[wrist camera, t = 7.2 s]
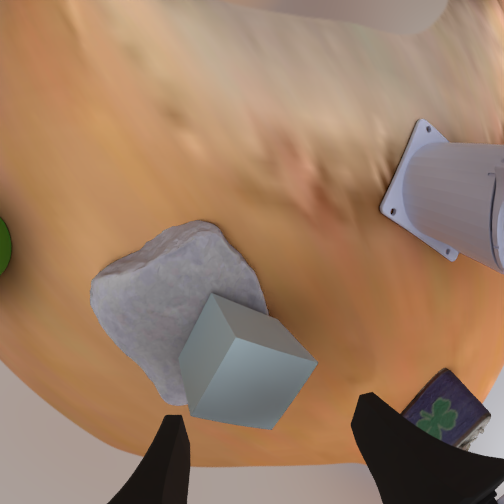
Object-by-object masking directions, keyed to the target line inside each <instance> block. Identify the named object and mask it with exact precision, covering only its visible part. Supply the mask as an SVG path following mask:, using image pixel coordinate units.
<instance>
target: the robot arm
mask: <svg viewBox="0 0 504 504" xmlns="http://www.w3.org/2000/svg"><path fill="white" fill-rule="evenodd" d="M426 127H427V128H428V132H427V130H426ZM392 208H393V213H392V214H391V213H390V211H391V209H392ZM380 211H381V213H382V214H384V215H385V216H387V217H388V218H390V219H391V220H393V221H394V222H396V223H397V224H399V225H400V226H402V227H403V228H405V229H406V230H408V231H409V232H411V233H412V234H413V235H415V236H416V237H418V238H419V239H421V240H422V241H423V242H425V243H426V244H428V245H429V246H430V247H432V248H433V249H435V250H436V251H437V252H439V253H440V254H441V255H443V256H444V257H445V258H447V259H448V260H450V261H452V262H453V261H455V260H456V258H457V256H458V254H459V253H462V254H464V255H466V256H468V257H470V258H472V259H474V260H476V261H478V262H480V263H482V264H484V265H486V266H488V267H490V268H492V269H494V270H495V271H497V272H499V273H501V274H504V145H498V144H481V143H450V142H449V141H448V140H447V139H446V138H445V137H444V136H443V135H442V134H441V133H440V132H438V131H437V130H436V129H435V128H434V127H433V126H432V125H431V124H430V123H429V122H428V121H426V120H425V119H419V120H418V121H417V123H416V126H415V128H414V131H413V133H412V136H411V138H410V140H409V143H408V145H407V148H406V150H405V152H404V155H403V157H402V159H401V162H400V164H399V166H398V168H397V171H396V173H395V175H394V177H393V180H392V182H391V184H390V186H389V188H388V190H387V193H386V195H385V197H384V199H383V201H382V203H381V205H380ZM446 250H447V252H446ZM351 428H352V431H353V434H354V437H355V440H356V443H357V446H358V448H359V450H360V452H361V454H362V456H363V458H364V460H365V462H366V464H367V466H368V468H369V470H370V472H371V474H372V476H373V478H374V480H375V482H376V485H377V487H378V490H379V493H380V496H381V499H382V502H383V504H504V495H503V496H501V497H500V498H499V499H498V500H497V501H496V500H495V498H494V497H495V496H497V493H496V492H495V489H496V488H497V487H498V486H499V485H500V484H501V483H502V482H503V481H504V459H502V458H495V457H488V456H483V455H479V454H475V453H471V452H468V451H465V450H462V449H460V448H457V447H454V446H452V445H450V444H447V443H445V442H443V441H441V440H439V439H437V438H435V437H433V436H432V435H430V434H428V433H427V432H425V431H423V430H422V429H420V428H419V427H417V426H416V425H414V424H413V423H411V422H410V421H409V420H407V419H406V418H404V417H403V416H402V415H400V414H399V413H398V412H397V411H395V410H394V409H393V408H392V407H390V406H389V405H388V404H387V403H385V402H384V401H383V400H382V399H380V398H379V397H378V396H377V395H376V394H374V393H373V392H370V393H366V394H362V395H360V396H359V399H358V403H357V406H356V409H355V413H354V416H353V419H352V422H351ZM189 473H190V442H189V439H188V435H187V432H186V429H185V425H184V421H183V418H182V415H166V416H165V417H164V419H163V421H162V424H161V426H160V428H159V430H158V432H157V434H156V436H155V438H154V440H153V442H152V444H151V446H150V447H149V449H148V451H147V453H146V454H145V456H144V458H143V459H142V461H141V462H140V464H139V465H138V467H137V468H136V470H135V472H134V473H133V474H132V476H131V477H130V478H129V480H128V481H127V482H126V483H125V485H124V486H123V487H122V488H121V489H120V491H119V492H118V493H117V494H116V495H115V496H114V497H113V498H112V499H111V500H110V502H108V503H107V504H187V495H188V484H189Z"/></svg>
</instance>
